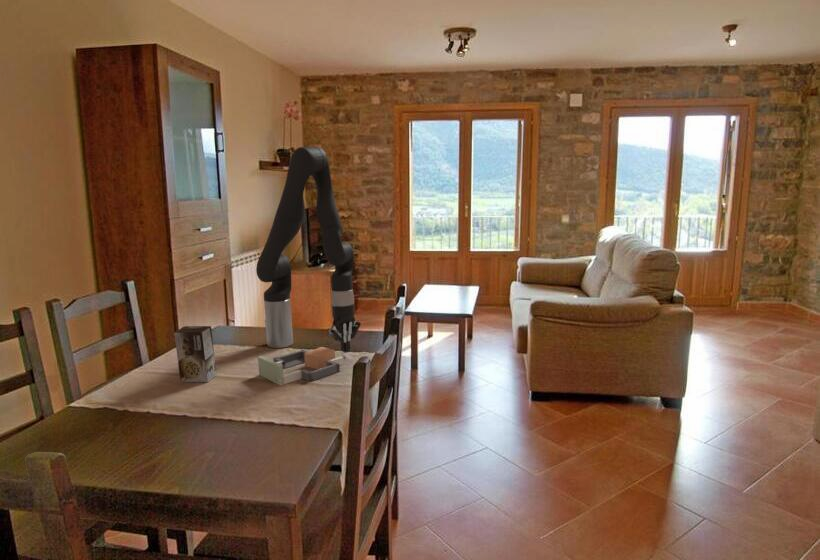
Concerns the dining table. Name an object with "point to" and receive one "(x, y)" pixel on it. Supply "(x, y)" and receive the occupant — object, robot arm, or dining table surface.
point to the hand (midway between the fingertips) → (345, 351)
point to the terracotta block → (319, 357)
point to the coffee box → (195, 353)
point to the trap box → (275, 371)
